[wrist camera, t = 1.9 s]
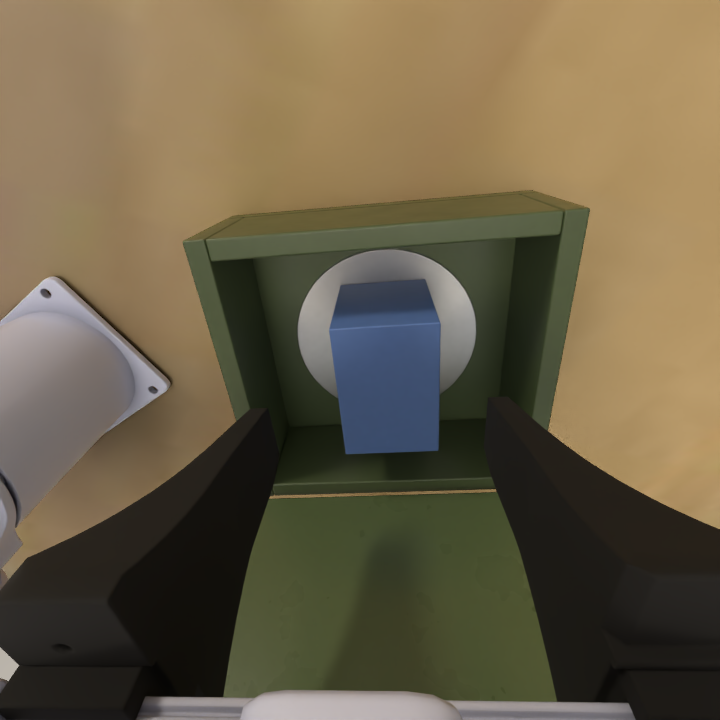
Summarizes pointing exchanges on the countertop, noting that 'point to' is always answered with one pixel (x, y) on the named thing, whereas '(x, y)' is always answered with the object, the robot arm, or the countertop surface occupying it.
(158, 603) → the robot arm
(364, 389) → the block
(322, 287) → the silver plate
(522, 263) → the box
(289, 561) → the lunchbox lid
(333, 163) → the countertop surface
